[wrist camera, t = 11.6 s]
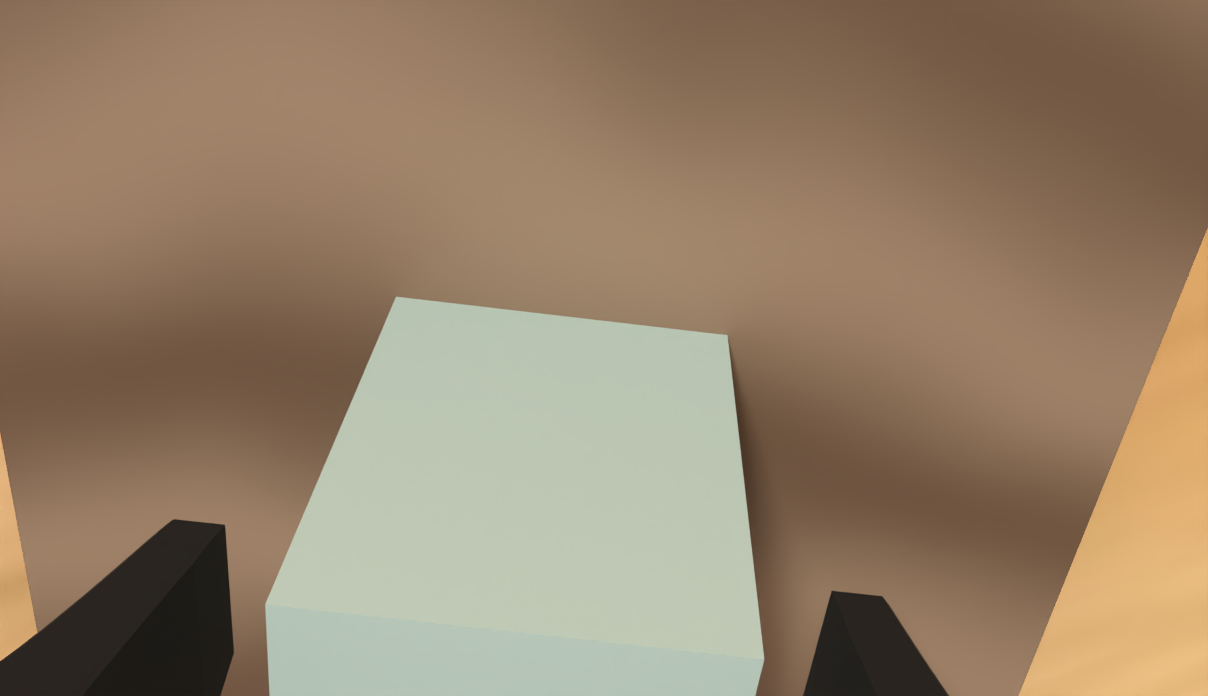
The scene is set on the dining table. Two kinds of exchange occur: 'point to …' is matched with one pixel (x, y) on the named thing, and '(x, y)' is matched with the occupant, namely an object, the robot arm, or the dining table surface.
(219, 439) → the walnut stand
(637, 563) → the sage block
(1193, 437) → the dining table surface
